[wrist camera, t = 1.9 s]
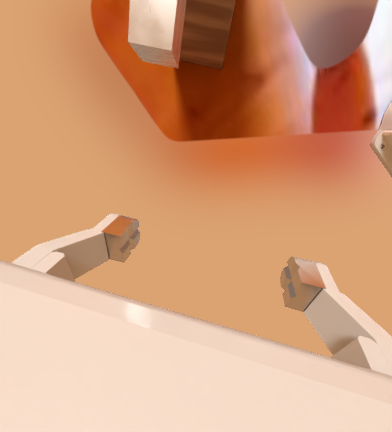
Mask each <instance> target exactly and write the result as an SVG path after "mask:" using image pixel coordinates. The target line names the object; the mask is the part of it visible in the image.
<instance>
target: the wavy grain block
mask: <svg viewBox="0 0 392 432" xmlns="http://www.w3.org/2000/svg"><path fill="white" fill-rule="evenodd" d="M235 1H236V0H187V1H186V9H185V17H184V25H183V34H182V42H181V50H180V58H179V61H183V62H188V63H193V64H198V65H203V66H208V67H213V68H218V69H222V68H223V63H224V58H225V53H226V48H227V42H228V37H229V32H230V27H231V22H232V17H233V11H234V6H235Z"/></svg>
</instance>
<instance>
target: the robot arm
mask: <svg viewBox="0 0 392 432" xmlns="http://www.w3.org/2000/svg"><path fill="white" fill-rule="evenodd" d="M370 145H371V147H372V149H373V150H374V152H375V153H376V155H377V156H378V158H379V159H380V161H381V162H382V164H383V165H384V166H385V168H386V169H387V171H388V172H389V173H390V175H391V176H392V102H391V103H390V105H389V106H388V108H387V110H386V112H385V114H384V116H383V119H382V123H381V126H380V128H379V130H378V131H377V133H376V134H375V136H374V137H373V139H372V141H371V144H370ZM381 145H382V147H381ZM380 147H381V148H380ZM138 227H139V221H138V220H137V219H132V218H129V217H125V216H121V215H117V214H110V215H108V216H107V217H106V218H105V219H104V220H102V221H101V222H100V223H99V224H98V225H96V226H95V227H94V228H93V229H92V230H91V229H87V230H84V231H81V232H77V233H74V234H71V235H68V236H64V237H61V238H58V239H55V240H51V241H48V242H45V243H42V244H39V245H36V246H35V247H33V248H32V249H31V250H29V251H28V252H26V253H25V254H23V255H22V256H20V257H19V258H18V259H16V260H15V261H13V262H12V263H9V262H6V261H2V260H0V432H392V337H391V336H390V335H389V334H388V333H387V332H386V331H384V329H382V328H381V327H380V326H379V325H378V324H377V323H376V322H374V321H373V320H372V319H371V318H370V317H369V316H368V315H367V314H366V313H364V312H363V311H362V310H361V309H360V308H359V307H358V306H357V305H355V304H354V303H353V302H352V301H351V300H350V299H349V298H348V297H346V296H345V295H344V294H342V293H340V292H339V290H338V288H337V286H336V284H335V282H334V280H333V278H332V276H331V274H330V272H329V270H328V268H327V266H326V265H325V264H323V263H318V262H312V261H308V260H304V259H299V258H295V257H291V258H290V259H289V260H288V262H287V263H288V266H287V267H285V268H284V269H283V271H282V273H281V278H280V279H281V286H282V288H283V289H284V290H285V291H284V293H283V298H284V303H285V307H289V308H292V309H296V310H299V311H302V312H303V313H304V314H305V316H306V317H307V319H308V320H309V321H310V323H311V324H312V326H313V327H314V329H315V330H316V331H317V333H318V334H319V336H320V337H321V339H322V340H323V341H324V343H325V344H326V346H327V347H328V349H329V350H330V351H331V353H332V354H333V356H332V357H331V358H329V357H326V356H323V355H319V354H316V353H312V352H309V351H306V350H302V349H299V348H296V347H292V346H289V345H286V344H282V343H279V342H276V341H272V340H269V339H265V338H262V337H259V336H255V335H252V334H248V333H245V332H242V331H238V330H235V329H232V328H228V327H225V326H221V325H218V324H214V323H211V322H208V321H204V320H201V319H198V318H194V317H191V316H188V315H184V314H181V313H178V312H174V311H171V310H168V309H164V308H161V307H157V306H154V305H151V304H147V303H144V302H140V301H137V300H134V299H131V298H127V297H124V296H120V295H117V294H114V293H110V292H107V291H103V290H100V289H97V288H93V287H90V286H87V285H83V284H80V283H76V282H75V280H74V279H76V278H78V277H79V276H81V275H83V274H85V273H86V272H88V271H90V270H92V269H94V268H95V267H97V266H99V265H101V264H103V263H104V262H106V261H108V260H109V259H112V260H116V261H120V262H125V261H126V259H127V258H128V257H129V255H130V254H131V253H130V250H132V249H134V248H135V247H136V246H137V244H138V242H139V238H140V232H139V231H138V229H137V228H138Z"/></svg>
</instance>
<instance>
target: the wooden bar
mask: <svg viewBox="0 0 392 432" xmlns="http://www.w3.org/2000/svg"><path fill="white" fill-rule="evenodd" d="M186 1H187V0H130V12H129V35H128V42H129V44H130V45H131V46H132V48H133V49H134V50H135V52H136V53H137V54H138V56H139V57H140V58H141V59H142V61H145V62H150V63H155V64H159V65H164V66H169V67H174V68H178V66H179V58H180V50H181V42H182V34H183V25H184V17H185V9H186Z"/></svg>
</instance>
